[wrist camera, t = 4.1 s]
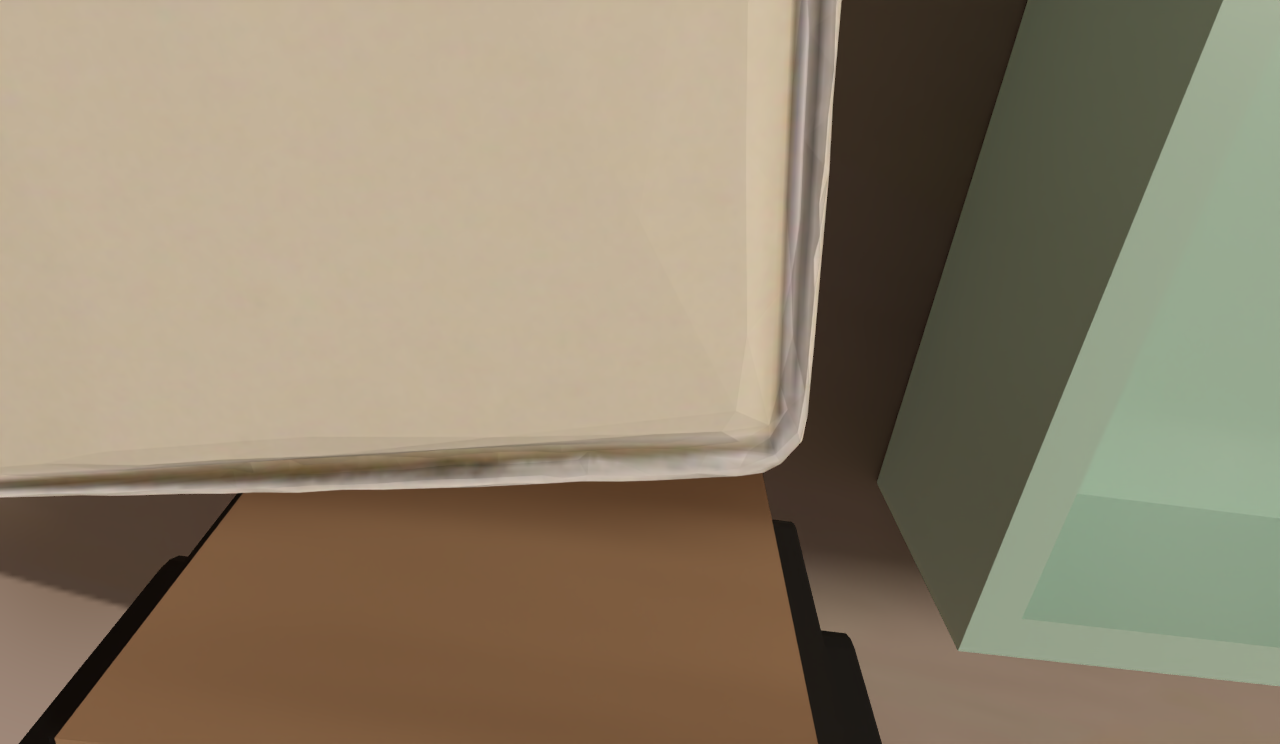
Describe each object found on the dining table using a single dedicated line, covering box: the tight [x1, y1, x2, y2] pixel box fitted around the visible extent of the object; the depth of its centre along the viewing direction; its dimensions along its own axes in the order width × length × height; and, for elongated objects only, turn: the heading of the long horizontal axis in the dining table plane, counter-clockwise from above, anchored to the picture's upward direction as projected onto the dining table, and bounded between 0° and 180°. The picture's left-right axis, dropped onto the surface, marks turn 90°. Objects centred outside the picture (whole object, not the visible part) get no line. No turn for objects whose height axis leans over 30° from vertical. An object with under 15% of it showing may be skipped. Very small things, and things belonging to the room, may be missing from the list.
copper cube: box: [54, 473, 818, 744], centre depth 8 cm, size 5×5×5 cm
